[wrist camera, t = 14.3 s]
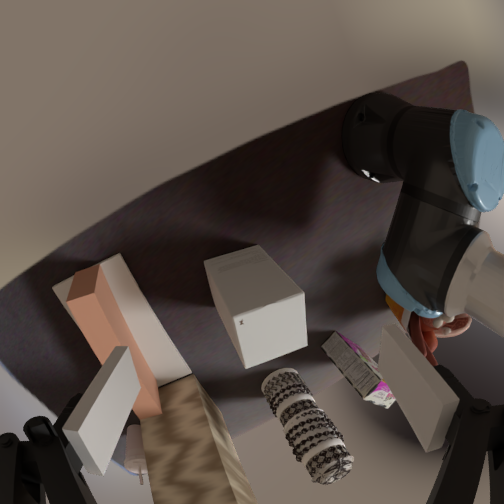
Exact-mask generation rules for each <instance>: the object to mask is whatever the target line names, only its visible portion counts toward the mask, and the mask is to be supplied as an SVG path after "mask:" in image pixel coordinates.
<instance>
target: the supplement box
mask: <svg viewBox="0 0 504 504" xmlns="http://www.w3.org/2000/svg"><path fill="white" fill-rule="evenodd" d="M204 266H205V270H206V274H207V278H208V281H209V285H210V289H211V293H212V297H213V301H214V304H215V307H216V309H217V311H218V313H219V315H220V318H221V320H222V322H223V324H224V326H225V328H226V330H227V332H228V334H229V336H230V338H231V341H232V343H233V345H234V347H235V349H236V351H237V353H238V355H239V357H240V359H241V361H242V363H243V365H244V367H245V369H247V368H250V367H253V366H255V365H258V364H261V363H264V362H266V361H269V360H272V359H274V358H277V357H280V356H282V355H285V354H287V353H290V352H293V351H295V350H298V349H300V348H303V347H305V346H308V344H307V330H306V314H305V296H304V291H303V290H301V289H300V288H299V287H298V286H297V285H296V284H295V283H294V281H293V280H292V279H291V278H290V277H289V276H288V275H287V274H286V273H285V272H284V271H283V270H282V269H281V268H280V267H279V266H278V265H277V264H276V263H275V262H274V261H273V259H272V258H271V257H270V256H269V255H268V254H267V253H266V252H265V251H264V250H263V249H262V248H261V247H260V246H259V245H255V246H252V247H249V248H245V249H242V250H239V251H235V252H232V253H228V254H225V255H222V256H218V257H215V258H212V259H208V260H205V261H204Z"/></svg>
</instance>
